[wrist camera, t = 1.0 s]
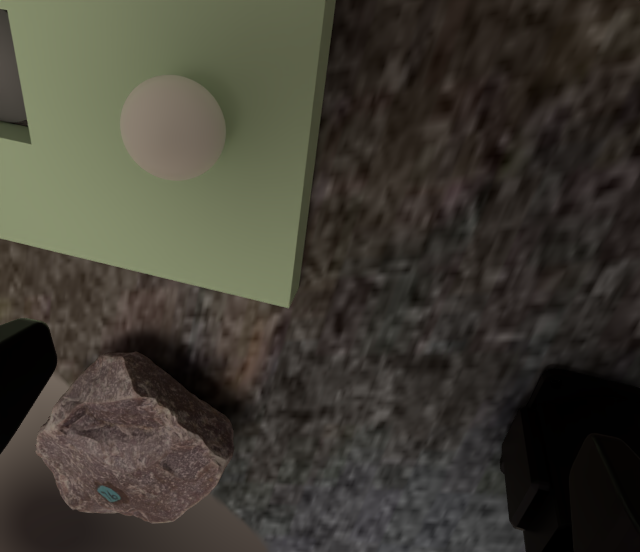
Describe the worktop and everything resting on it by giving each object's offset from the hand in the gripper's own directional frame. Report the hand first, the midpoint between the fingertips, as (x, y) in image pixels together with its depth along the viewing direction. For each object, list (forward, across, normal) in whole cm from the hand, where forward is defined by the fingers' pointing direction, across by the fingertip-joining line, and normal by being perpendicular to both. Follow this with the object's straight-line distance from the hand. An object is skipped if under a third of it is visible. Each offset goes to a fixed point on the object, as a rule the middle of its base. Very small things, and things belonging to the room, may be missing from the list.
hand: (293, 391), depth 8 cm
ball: (+9, +6, -1) cm, 11 cm away
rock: (+13, +14, +17) cm, 26 cm away
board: (+12, +11, -2) cm, 17 cm away
